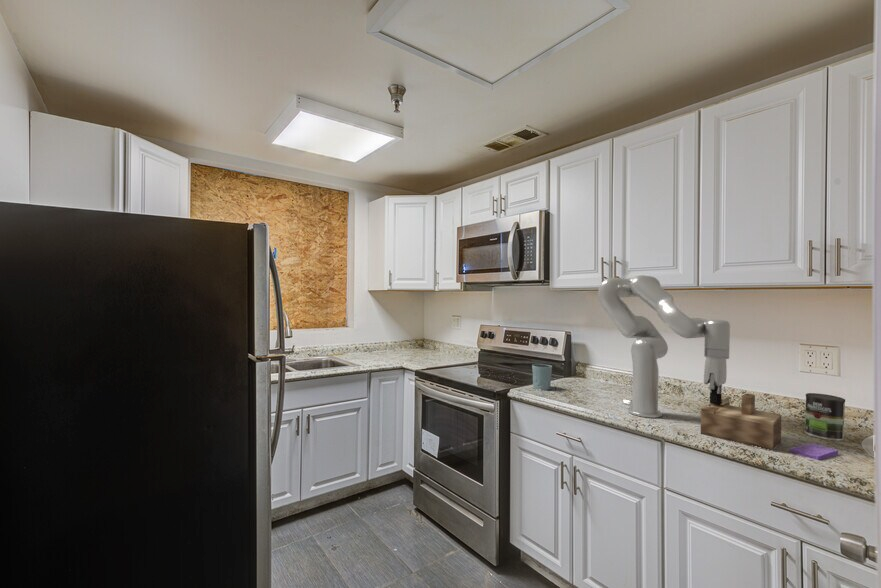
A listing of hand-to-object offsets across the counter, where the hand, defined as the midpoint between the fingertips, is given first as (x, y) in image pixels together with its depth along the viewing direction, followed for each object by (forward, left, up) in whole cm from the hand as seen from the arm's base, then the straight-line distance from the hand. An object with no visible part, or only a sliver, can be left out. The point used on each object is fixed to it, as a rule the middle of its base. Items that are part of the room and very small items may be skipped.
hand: (715, 403), depth 147 cm
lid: (+8, -2, -2) cm, 9 cm away
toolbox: (+8, +1, -10) cm, 13 cm away
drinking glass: (-78, +5, -10) cm, 79 cm away
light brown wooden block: (0, +6, 0) cm, 6 cm away
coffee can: (+27, +25, -10) cm, 38 cm away
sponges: (+27, 0, -10) cm, 29 cm away
